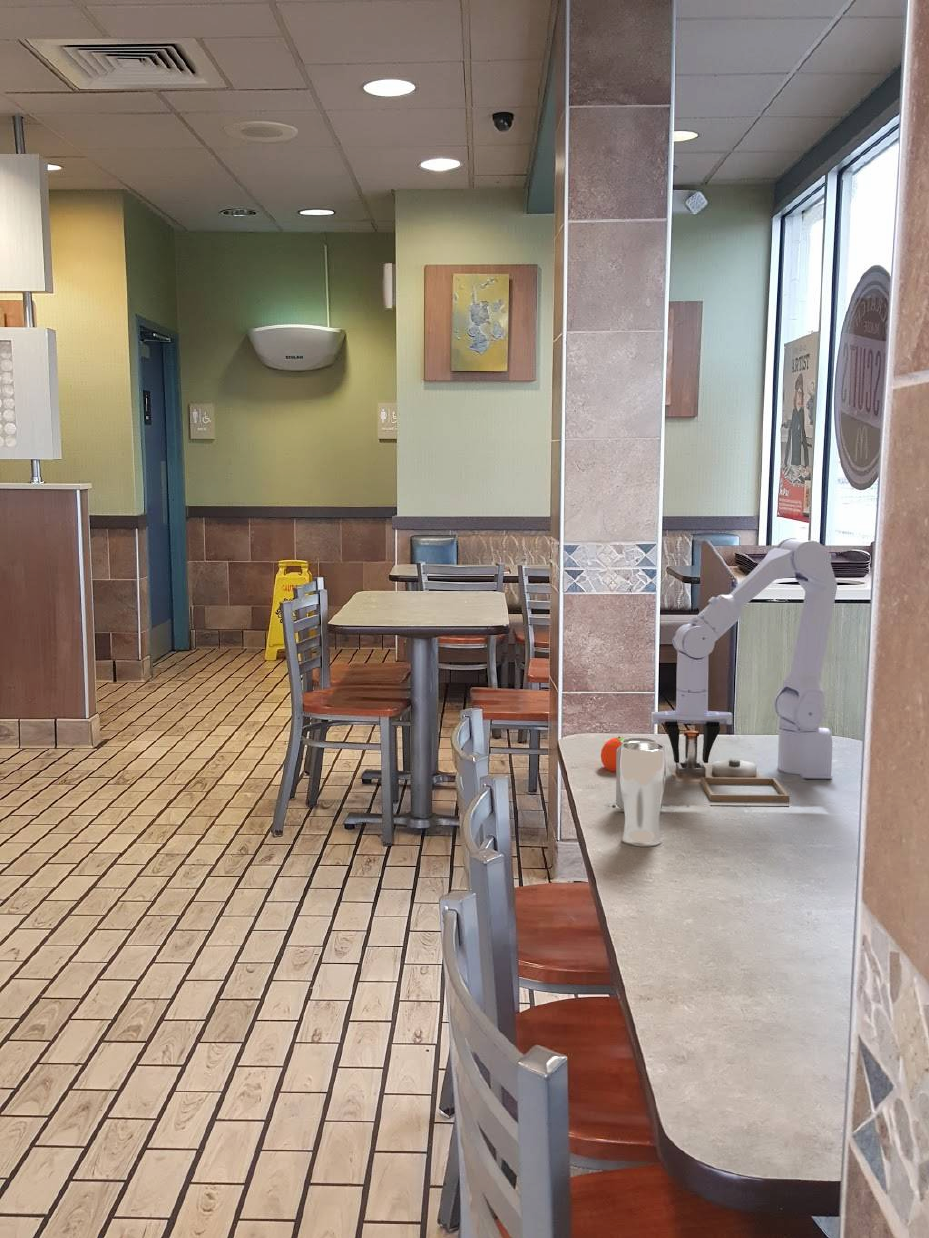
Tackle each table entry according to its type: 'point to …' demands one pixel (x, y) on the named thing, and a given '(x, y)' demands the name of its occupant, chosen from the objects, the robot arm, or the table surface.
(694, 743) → the lock pin
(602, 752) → the clementine
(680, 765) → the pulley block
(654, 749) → the beer glass
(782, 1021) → the table surface
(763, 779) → the tray
